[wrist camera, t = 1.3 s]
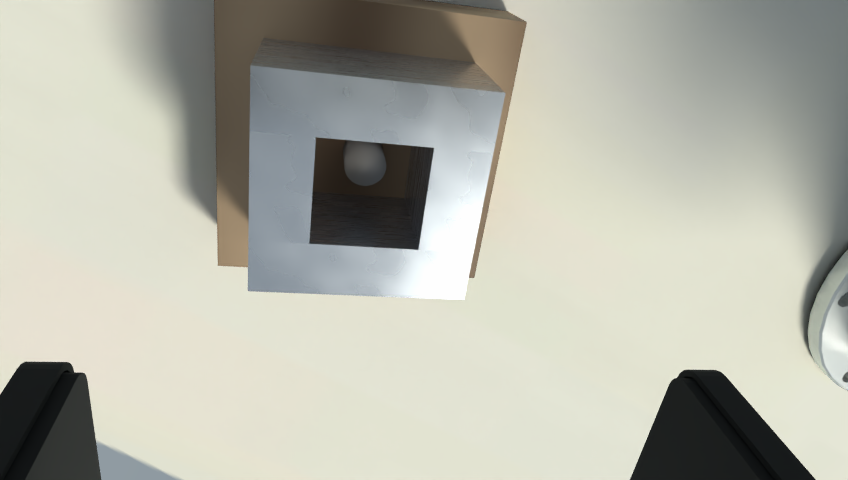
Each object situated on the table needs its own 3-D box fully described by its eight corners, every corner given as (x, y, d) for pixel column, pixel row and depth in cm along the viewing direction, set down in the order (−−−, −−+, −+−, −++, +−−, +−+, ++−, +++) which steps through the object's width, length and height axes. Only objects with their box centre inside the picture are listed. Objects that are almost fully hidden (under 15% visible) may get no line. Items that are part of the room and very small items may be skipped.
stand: (507, 11, 23) (540, 29, 19) (462, 248, 27) (482, 298, 24) (225, -27, 21) (205, -14, 17) (226, 234, 25) (211, 286, 22)
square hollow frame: (475, 62, 21) (505, 92, 17) (443, 243, 24) (464, 300, 21) (263, 38, 20) (250, 65, 16) (259, 232, 23) (247, 291, 19)
